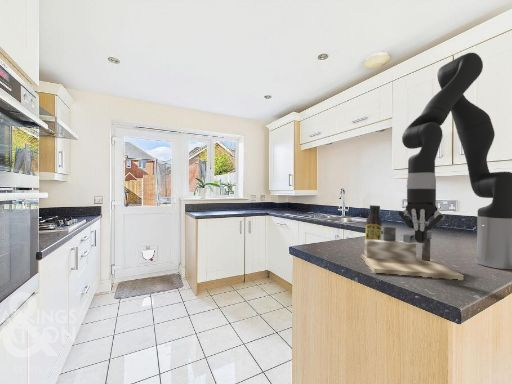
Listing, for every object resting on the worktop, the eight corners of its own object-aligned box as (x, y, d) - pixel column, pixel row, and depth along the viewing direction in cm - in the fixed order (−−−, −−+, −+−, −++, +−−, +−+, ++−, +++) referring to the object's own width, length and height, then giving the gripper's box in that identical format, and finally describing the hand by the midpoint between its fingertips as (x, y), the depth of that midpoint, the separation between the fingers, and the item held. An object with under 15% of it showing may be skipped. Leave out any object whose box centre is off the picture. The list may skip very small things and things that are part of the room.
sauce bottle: (364, 251, 102) (364, 205, 102) (365, 248, 108) (365, 204, 108) (381, 253, 99) (382, 205, 99) (381, 250, 105) (382, 205, 105)
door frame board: (430, 262, 87) (431, 228, 87) (463, 280, 69) (464, 237, 69) (360, 257, 91) (361, 225, 91) (374, 273, 74) (374, 233, 74)
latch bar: (423, 237, 86) (423, 230, 86) (432, 238, 84) (433, 231, 84) (401, 241, 77) (401, 234, 77) (411, 243, 75) (412, 235, 75)
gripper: (451, 187, 72) (451, 245, 71) (404, 188, 83) (404, 238, 83) (440, 187, 68) (440, 248, 67) (393, 187, 79) (393, 240, 79)
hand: (420, 242), depth 75 cm, fingers closed
